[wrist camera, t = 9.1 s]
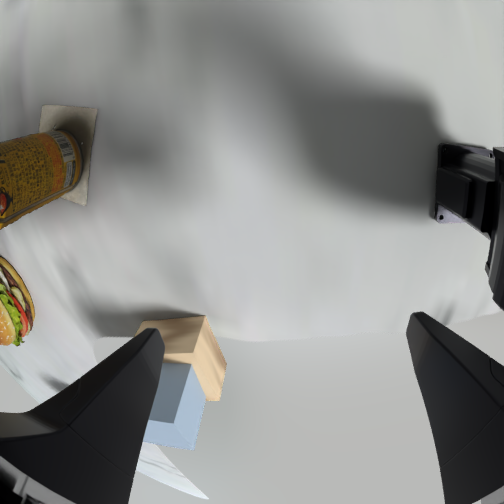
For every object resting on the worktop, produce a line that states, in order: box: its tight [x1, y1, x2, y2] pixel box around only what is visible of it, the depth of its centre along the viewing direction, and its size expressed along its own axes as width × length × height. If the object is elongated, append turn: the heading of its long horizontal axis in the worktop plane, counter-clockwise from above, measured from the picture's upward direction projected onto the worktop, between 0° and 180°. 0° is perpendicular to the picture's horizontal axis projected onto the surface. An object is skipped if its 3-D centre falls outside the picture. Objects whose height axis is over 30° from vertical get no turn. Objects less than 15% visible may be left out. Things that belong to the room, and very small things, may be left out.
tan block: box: [134, 316, 227, 401], centre depth 25 cm, size 7×7×5 cm
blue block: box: [143, 363, 206, 450], centre depth 20 cm, size 5×5×6 cm
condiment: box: [0, 105, 98, 230], centre depth 13 cm, size 7×8×12 cm
